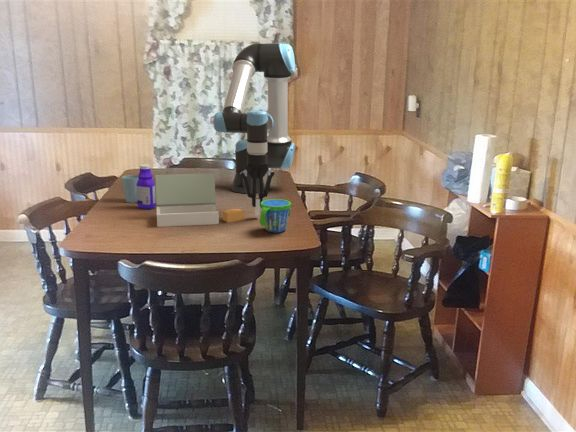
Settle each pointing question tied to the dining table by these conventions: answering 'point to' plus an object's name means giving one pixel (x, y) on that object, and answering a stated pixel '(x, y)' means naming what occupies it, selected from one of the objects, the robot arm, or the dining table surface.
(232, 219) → the orange rectangular block
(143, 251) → the dining table surface
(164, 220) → the grey rectangular box
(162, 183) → the cover
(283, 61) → the robot arm
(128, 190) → the cup
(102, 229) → the dining table surface
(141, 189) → the bottle
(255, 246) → the dining table surface
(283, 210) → the snack cup
